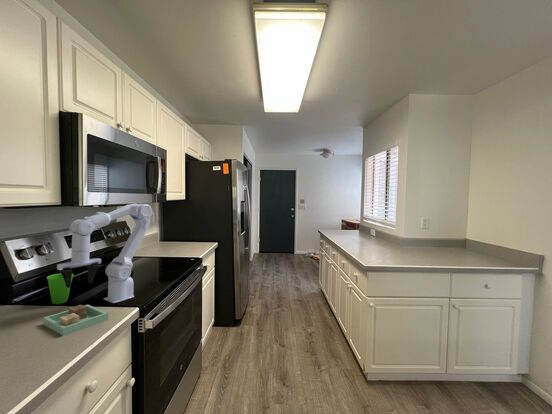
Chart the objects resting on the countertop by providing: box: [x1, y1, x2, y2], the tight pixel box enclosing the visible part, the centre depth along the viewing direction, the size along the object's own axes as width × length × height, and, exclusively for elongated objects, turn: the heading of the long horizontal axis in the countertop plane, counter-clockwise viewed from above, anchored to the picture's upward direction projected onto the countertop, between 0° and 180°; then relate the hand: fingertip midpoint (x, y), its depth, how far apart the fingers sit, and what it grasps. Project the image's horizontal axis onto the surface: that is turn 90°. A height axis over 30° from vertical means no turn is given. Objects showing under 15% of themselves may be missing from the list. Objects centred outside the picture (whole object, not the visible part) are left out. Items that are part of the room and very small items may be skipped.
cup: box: [46, 272, 75, 305], centre depth 113 cm, size 9×9×11 cm
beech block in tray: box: [60, 313, 79, 326], centre depth 90 cm, size 4×4×4 cm
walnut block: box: [68, 304, 87, 320], centre depth 98 cm, size 4×4×4 cm
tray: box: [42, 304, 109, 337], centre depth 95 cm, size 14×14×3 cm
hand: (79, 284), depth 105 cm, fingers open, 7 cm apart
